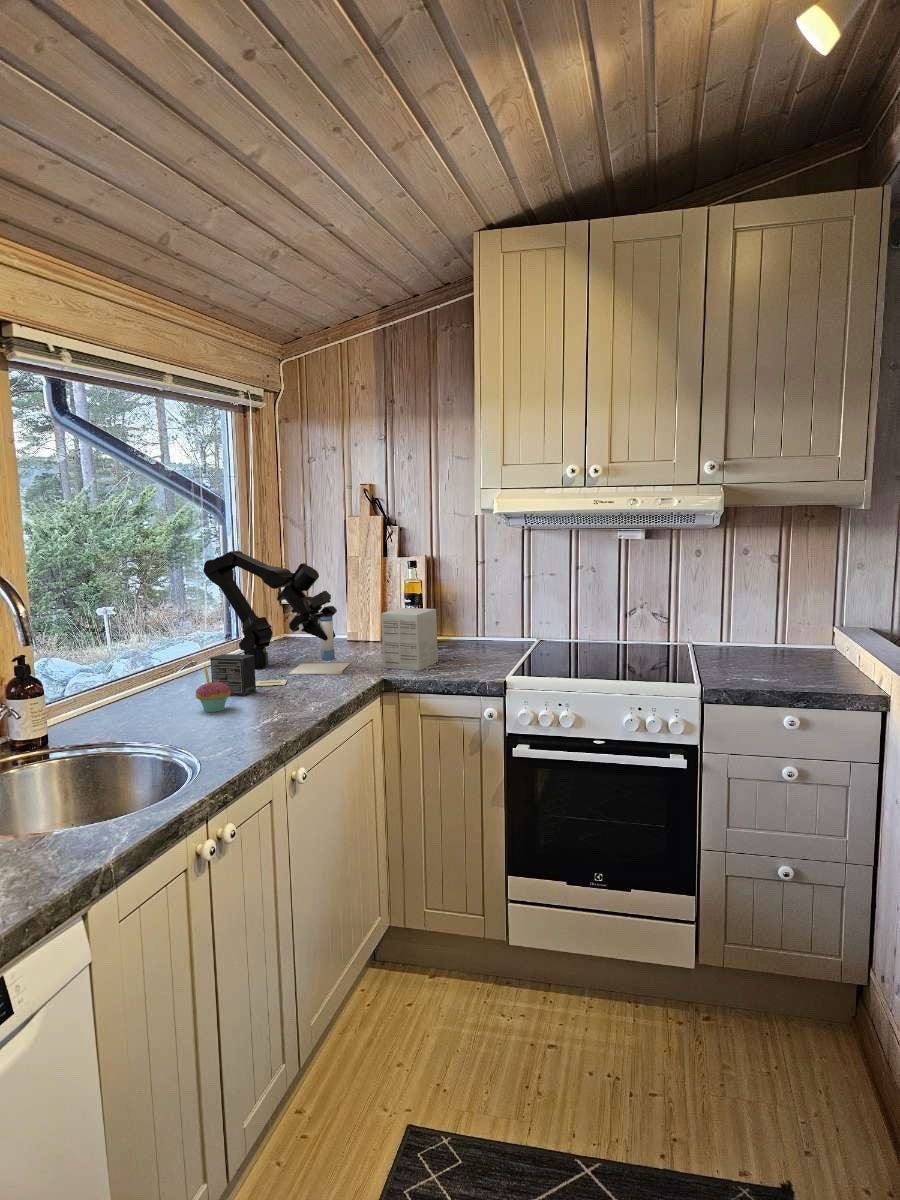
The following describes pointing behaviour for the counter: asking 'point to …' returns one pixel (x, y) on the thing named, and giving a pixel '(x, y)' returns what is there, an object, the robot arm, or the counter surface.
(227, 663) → the small box
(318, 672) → the notepad
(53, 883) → the counter surface
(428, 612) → the supplement box
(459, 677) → the counter surface
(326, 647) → the cylinder
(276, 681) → the word card
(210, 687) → the cupcake
